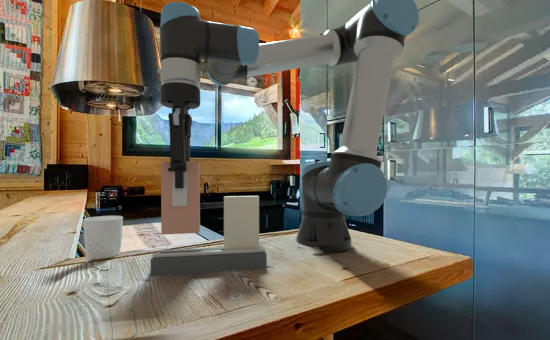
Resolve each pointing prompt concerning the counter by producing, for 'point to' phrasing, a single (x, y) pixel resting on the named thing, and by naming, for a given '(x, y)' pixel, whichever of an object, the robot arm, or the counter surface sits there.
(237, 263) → the grey stand base
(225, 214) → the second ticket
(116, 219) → the white cup
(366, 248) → the counter surface
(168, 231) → the panel
